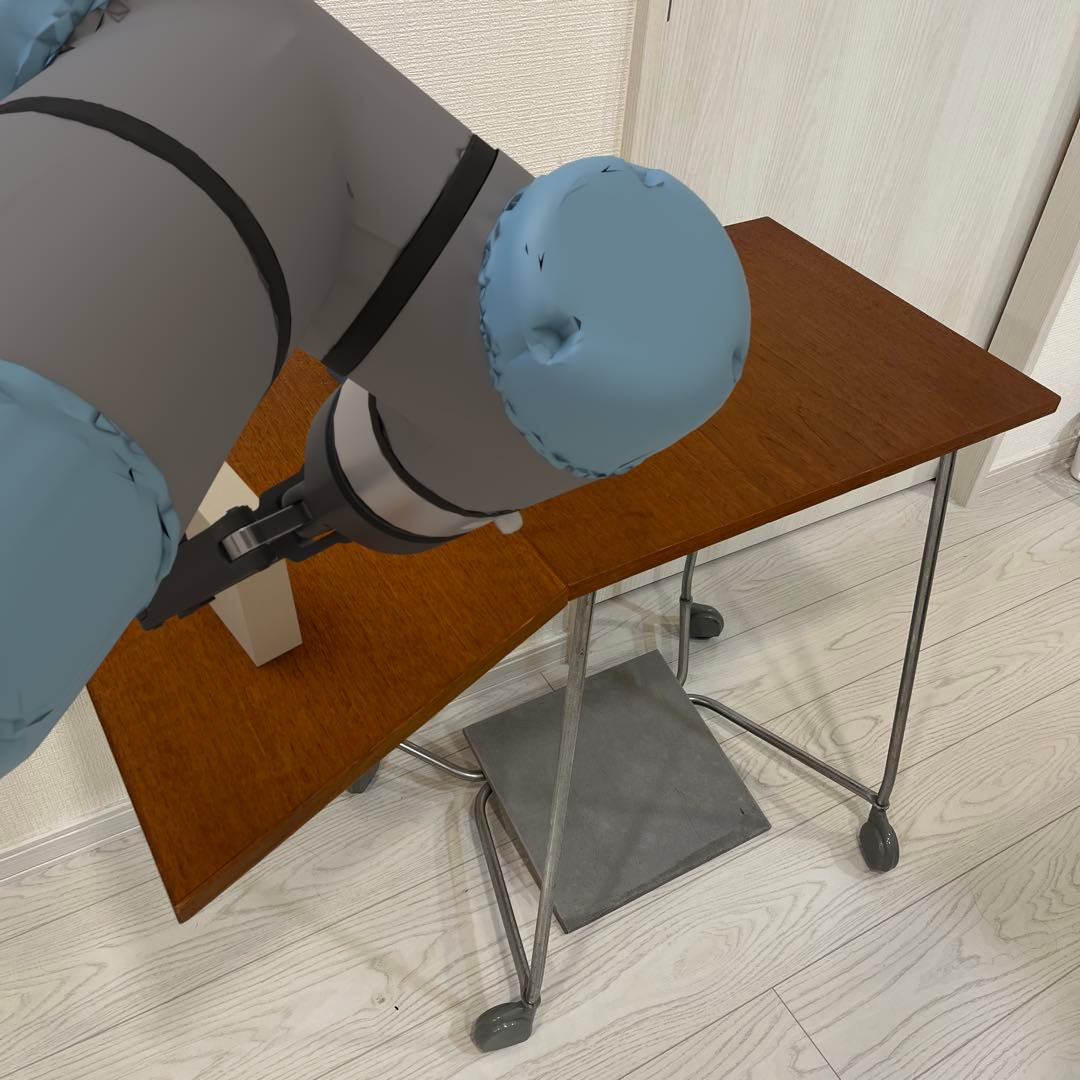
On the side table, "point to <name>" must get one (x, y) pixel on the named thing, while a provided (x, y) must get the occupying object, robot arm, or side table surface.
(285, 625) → the cream rectangular block
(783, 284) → the side table surface
